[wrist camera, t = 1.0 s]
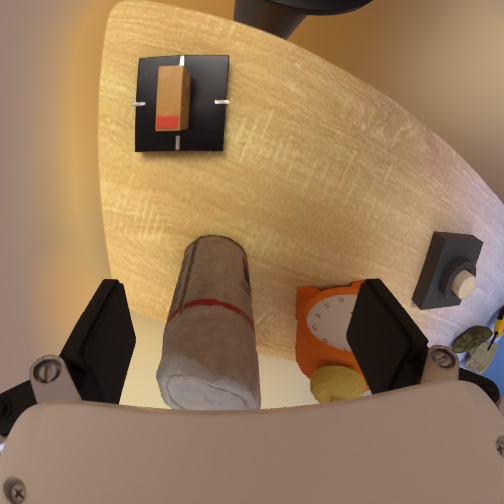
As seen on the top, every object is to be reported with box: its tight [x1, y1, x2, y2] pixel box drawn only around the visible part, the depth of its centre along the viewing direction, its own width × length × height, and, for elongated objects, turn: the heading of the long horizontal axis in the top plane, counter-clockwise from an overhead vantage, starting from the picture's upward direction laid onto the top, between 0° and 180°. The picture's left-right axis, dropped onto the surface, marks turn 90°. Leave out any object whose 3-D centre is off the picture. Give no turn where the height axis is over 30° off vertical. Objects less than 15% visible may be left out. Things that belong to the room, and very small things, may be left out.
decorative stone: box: [452, 326, 493, 353], centre depth 47 cm, size 12×5×4 cm, turn 117°
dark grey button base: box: [412, 231, 483, 310], centre depth 37 cm, size 12×10×5 cm
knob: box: [156, 65, 191, 131], centre depth 22 cm, size 6×2×6 cm, turn 176°
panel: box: [132, 55, 230, 152], centre depth 25 cm, size 10×10×3 cm
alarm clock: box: [295, 280, 370, 403], centre depth 30 cm, size 13×6×20 cm, turn 93°
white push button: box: [451, 270, 476, 299], centre depth 34 cm, size 4×4×2 cm
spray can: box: [156, 235, 261, 410], centre depth 26 cm, size 8×8×20 cm
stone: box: [465, 342, 498, 375], centre depth 52 cm, size 15×3×10 cm
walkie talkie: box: [487, 306, 504, 351], centre depth 44 cm, size 5×2×15 cm
